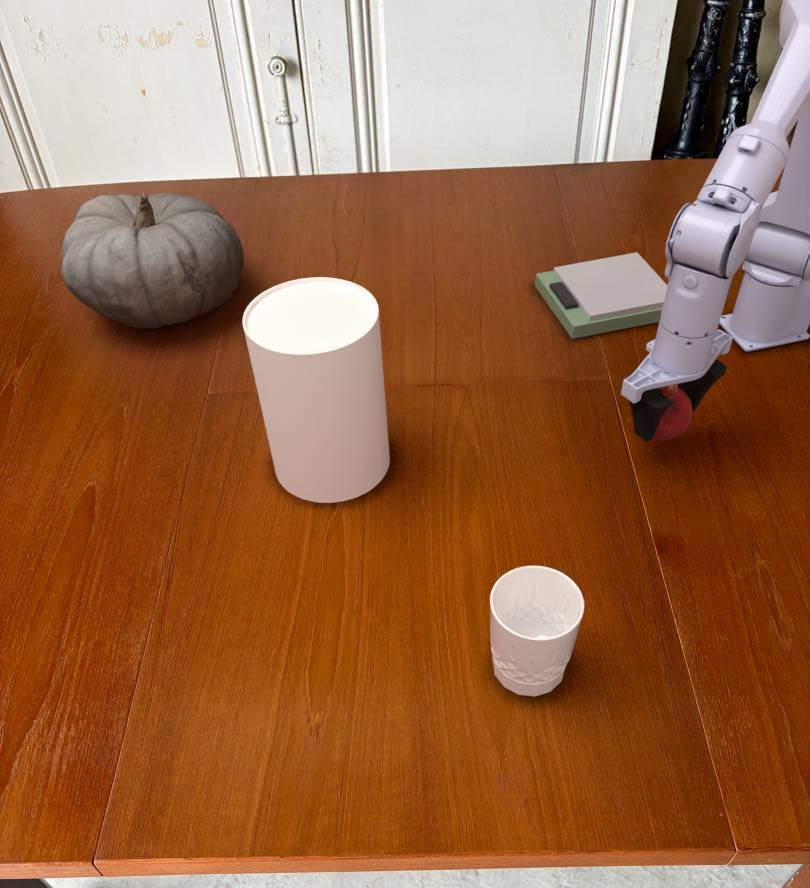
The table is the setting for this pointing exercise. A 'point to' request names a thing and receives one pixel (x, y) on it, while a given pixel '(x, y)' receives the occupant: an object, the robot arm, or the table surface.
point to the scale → (603, 294)
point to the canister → (320, 386)
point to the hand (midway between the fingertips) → (662, 424)
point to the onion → (674, 414)
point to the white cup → (533, 628)
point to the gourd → (151, 258)
